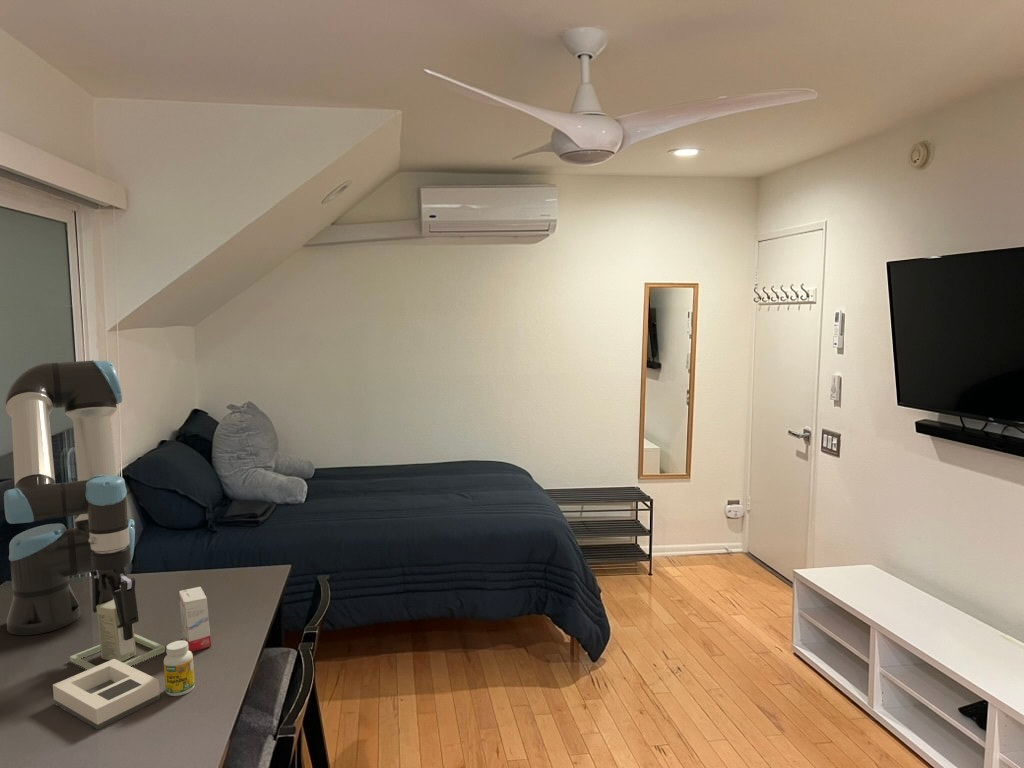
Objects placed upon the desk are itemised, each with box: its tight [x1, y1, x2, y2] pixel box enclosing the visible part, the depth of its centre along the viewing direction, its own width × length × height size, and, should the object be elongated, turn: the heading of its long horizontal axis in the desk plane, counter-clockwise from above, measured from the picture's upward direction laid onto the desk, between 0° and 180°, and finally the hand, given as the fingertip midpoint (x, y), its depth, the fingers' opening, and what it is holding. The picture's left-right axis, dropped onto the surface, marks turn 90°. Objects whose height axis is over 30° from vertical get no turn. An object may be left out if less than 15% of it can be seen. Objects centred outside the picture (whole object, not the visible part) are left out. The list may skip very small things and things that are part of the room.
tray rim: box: [69, 632, 166, 670], centre depth 158 cm, size 14×14×1 cm
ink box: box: [178, 586, 212, 653], centre depth 163 cm, size 9×5×12 cm, turn 33°
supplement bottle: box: [163, 639, 196, 697], centre depth 144 cm, size 5×5×10 cm
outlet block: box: [52, 659, 161, 731], centre depth 140 cm, size 16×12×4 cm
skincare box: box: [96, 598, 137, 663], centre depth 157 cm, size 6×4×12 cm
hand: (117, 648), depth 157 cm, fingers closed on skincare box, 7 cm apart
